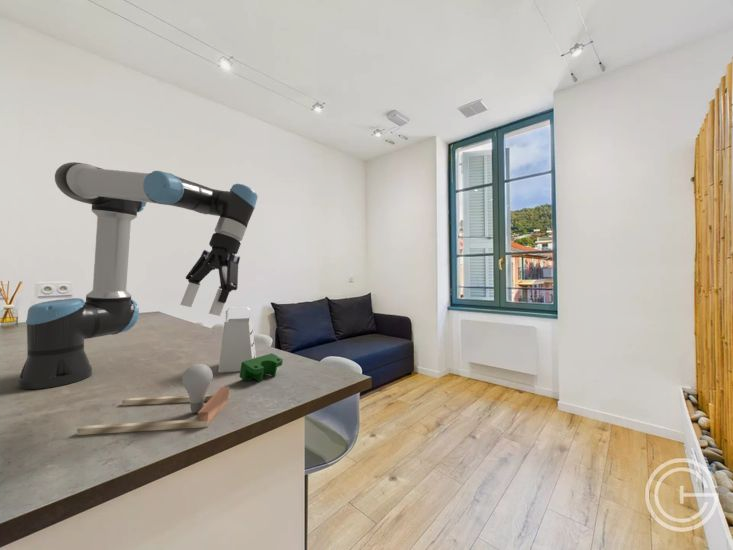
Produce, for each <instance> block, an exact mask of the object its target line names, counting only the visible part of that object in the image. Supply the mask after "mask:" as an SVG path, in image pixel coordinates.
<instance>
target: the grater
mask: <svg viewBox="0 0 733 550" xmlns="http://www.w3.org/2000/svg"><path fill="white" fill-rule="evenodd" d="M230 309H247V310H248V311H249V313H248V314H249V318H244V317H243V318H229V310H230ZM251 314H252V310H251V308H250V307H249V306H230V307H229V308H228V309H227V310H225V322H224V323H223V331H222V337H221V347H220V355H219V363H218V370H217V373H230V372H231V373H232V372H240V370H241V364H242V362H243V361H247V360H250V359H254V358H257V353H256V345H255V335H254V326H253V319H252V315H251Z"/></svg>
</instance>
